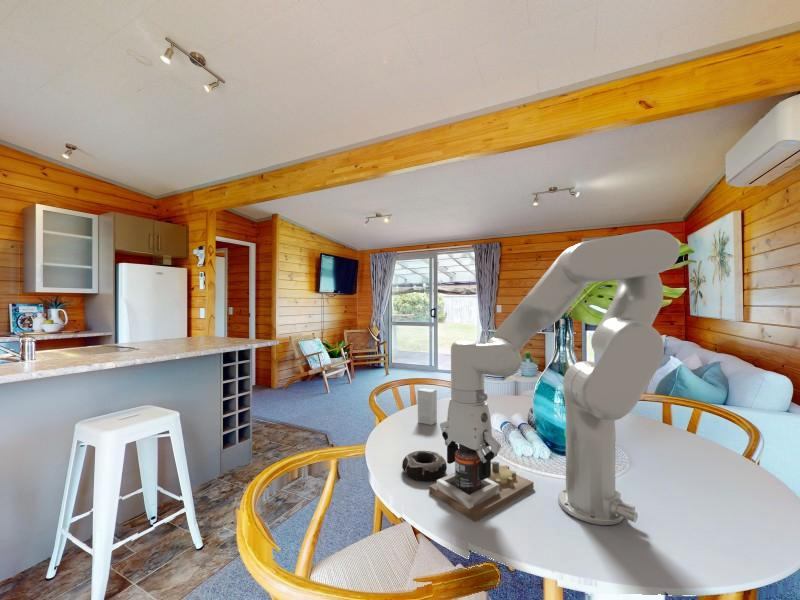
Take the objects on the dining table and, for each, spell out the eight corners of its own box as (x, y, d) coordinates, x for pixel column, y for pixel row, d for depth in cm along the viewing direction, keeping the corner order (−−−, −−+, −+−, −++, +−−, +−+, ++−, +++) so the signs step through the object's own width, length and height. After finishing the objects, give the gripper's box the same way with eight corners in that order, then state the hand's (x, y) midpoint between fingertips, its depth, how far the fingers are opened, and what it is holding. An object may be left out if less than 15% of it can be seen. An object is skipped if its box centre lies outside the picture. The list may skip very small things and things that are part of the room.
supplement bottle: (479, 484, 84) (479, 437, 84) (483, 499, 78) (483, 447, 78) (454, 483, 85) (454, 436, 85) (455, 497, 79) (455, 446, 79)
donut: (400, 463, 99) (400, 449, 99) (442, 461, 100) (442, 447, 100) (404, 485, 88) (404, 468, 88) (451, 483, 88) (451, 467, 88)
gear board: (533, 488, 86) (533, 467, 86) (475, 521, 73) (475, 497, 73) (486, 466, 97) (486, 448, 97) (429, 492, 84) (429, 471, 84)
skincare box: (437, 422, 132) (437, 389, 132) (431, 425, 128) (431, 392, 128) (422, 419, 135) (422, 387, 135) (417, 422, 131) (417, 390, 131)
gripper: (509, 400, 77) (510, 479, 77) (451, 385, 91) (452, 452, 91) (487, 407, 72) (487, 491, 72) (430, 390, 86) (430, 460, 86)
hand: (468, 469), depth 82 cm, fingers open, 9 cm apart
